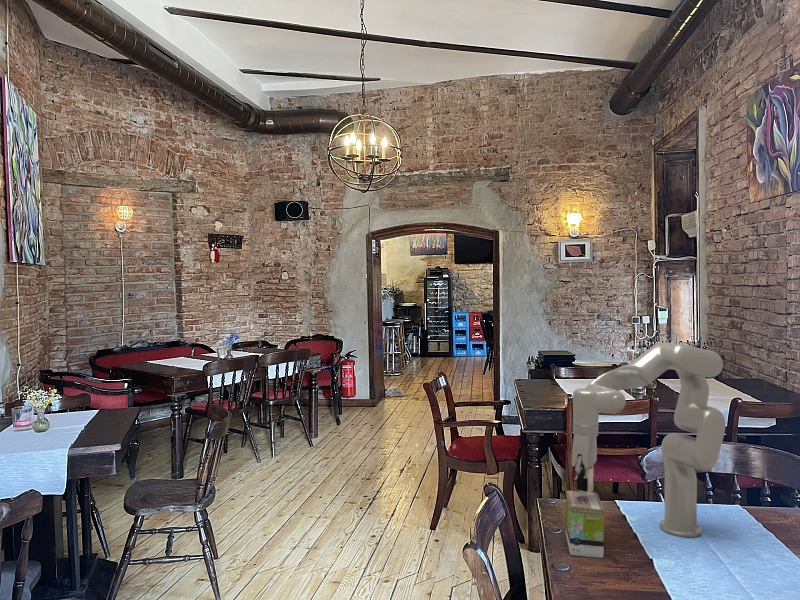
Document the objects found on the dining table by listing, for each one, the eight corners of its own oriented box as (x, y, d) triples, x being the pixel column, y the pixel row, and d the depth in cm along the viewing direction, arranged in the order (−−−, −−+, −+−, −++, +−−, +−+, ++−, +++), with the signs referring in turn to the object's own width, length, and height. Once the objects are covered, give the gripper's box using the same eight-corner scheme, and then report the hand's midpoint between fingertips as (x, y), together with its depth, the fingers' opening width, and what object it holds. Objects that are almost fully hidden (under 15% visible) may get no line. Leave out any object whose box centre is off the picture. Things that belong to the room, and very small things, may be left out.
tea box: (604, 559, 165) (605, 508, 165) (569, 555, 167) (569, 506, 167) (597, 537, 179) (597, 491, 179) (564, 534, 181) (565, 489, 181)
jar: (580, 486, 176) (580, 462, 176) (595, 489, 173) (595, 464, 173) (574, 490, 172) (574, 465, 172) (590, 493, 170) (590, 468, 169)
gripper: (582, 422, 182) (582, 478, 182) (563, 432, 168) (563, 493, 168) (606, 426, 177) (606, 483, 177) (588, 436, 164) (588, 498, 164)
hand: (585, 487), depth 173 cm, fingers closed on jar, 4 cm apart
